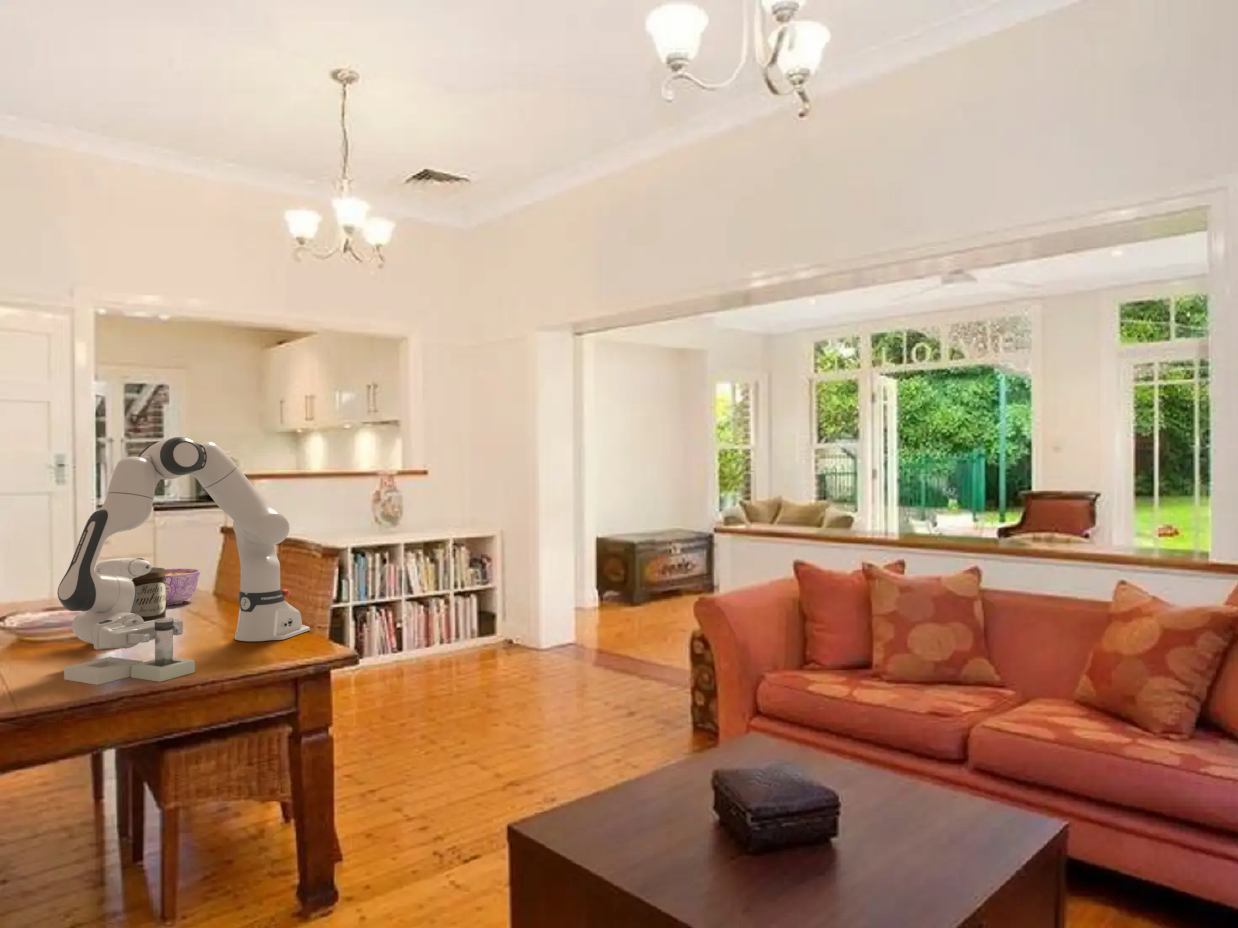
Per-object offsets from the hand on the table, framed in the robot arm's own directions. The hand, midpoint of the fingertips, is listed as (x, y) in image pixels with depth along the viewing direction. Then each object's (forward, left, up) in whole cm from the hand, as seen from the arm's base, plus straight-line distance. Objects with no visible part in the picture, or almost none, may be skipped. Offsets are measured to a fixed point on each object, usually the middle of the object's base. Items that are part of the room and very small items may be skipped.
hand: (164, 634), depth 212 cm
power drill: (-21, -42, -10) cm, 48 cm away
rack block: (0, 0, -10) cm, 10 cm away
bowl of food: (-73, -87, -10) cm, 114 cm away
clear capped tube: (0, 0, -10) cm, 10 cm away
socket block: (+7, -12, -10) cm, 17 cm away
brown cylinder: (-39, -59, -10) cm, 72 cm away
